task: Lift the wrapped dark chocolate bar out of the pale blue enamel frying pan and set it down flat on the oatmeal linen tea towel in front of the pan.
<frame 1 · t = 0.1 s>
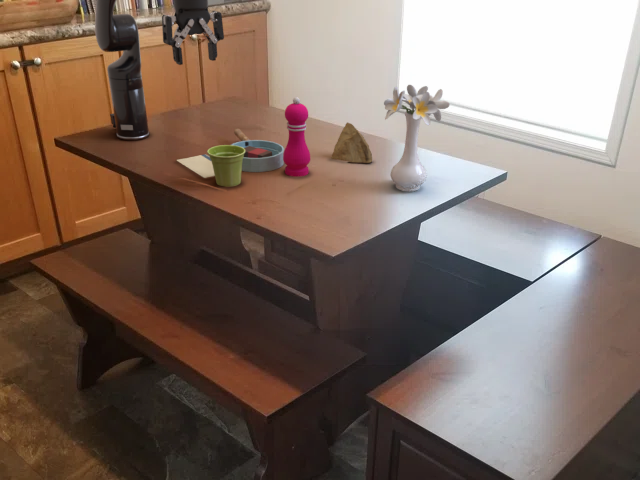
hand: (196, 62, 160), 29 cm above the table, tool pointing down, fingers open, 8 cm apart
rock: (352, 161, 193), on the table
flower vase: (407, 187, 178), on the table
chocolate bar: (256, 162, 189), point 1 cm above the table, touching pan
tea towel: (205, 167, 185), on the table
pepper mill: (296, 174, 183), on the table
plant pot: (228, 184, 176), on the table
pan handle: (242, 137, 197), point 3 cm above the table
pan: (256, 164, 189), on the table
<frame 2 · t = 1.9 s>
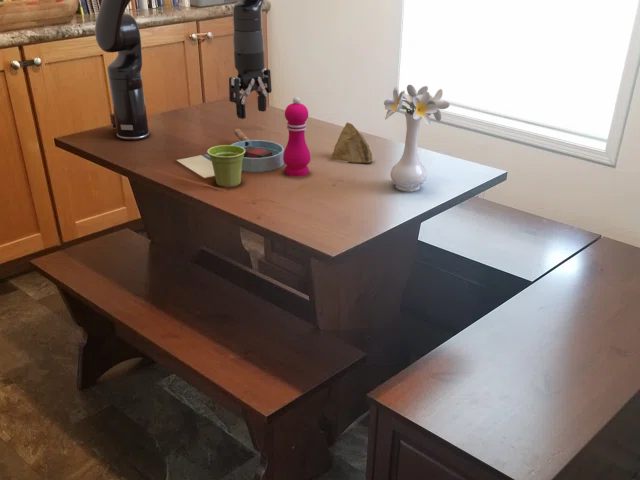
hand: (251, 114, 181), 14 cm above the table, tool pointing down, fingers open, 8 cm apart
nothing on the table moved.
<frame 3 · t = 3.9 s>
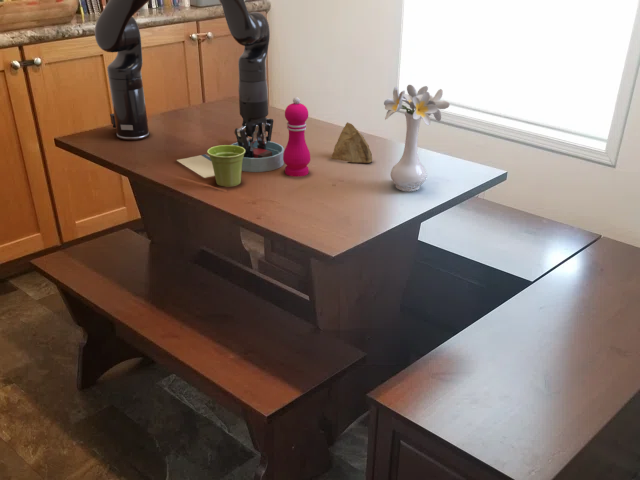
hand: (255, 160, 188), 1 cm above the table, tool pointing down, fingers closed on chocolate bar, 4 cm apart
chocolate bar: (256, 162, 189), point 1 cm above the table, touching gripper, pan
everything else where it was.
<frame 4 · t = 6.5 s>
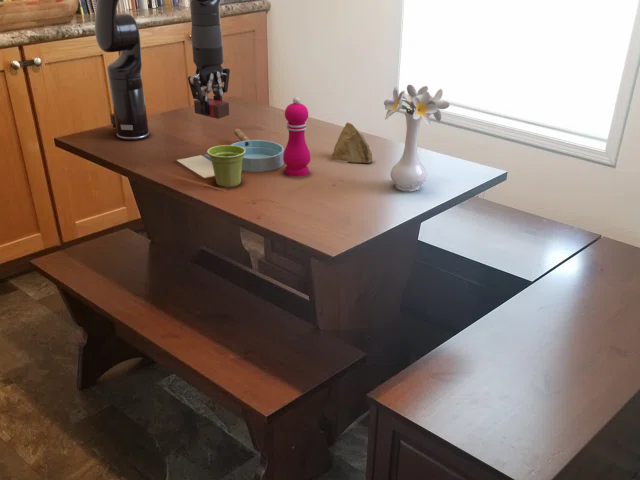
hand: (211, 112, 180), 14 cm above the table, tool pointing down, fingers closed on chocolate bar, 4 cm apart
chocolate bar: (212, 114, 181), point 13 cm above the table, touching gripper
everything else where it was.
when the fingers open (1 cm above the table, at t = 9.4 s): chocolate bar stays where it is, resting on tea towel.
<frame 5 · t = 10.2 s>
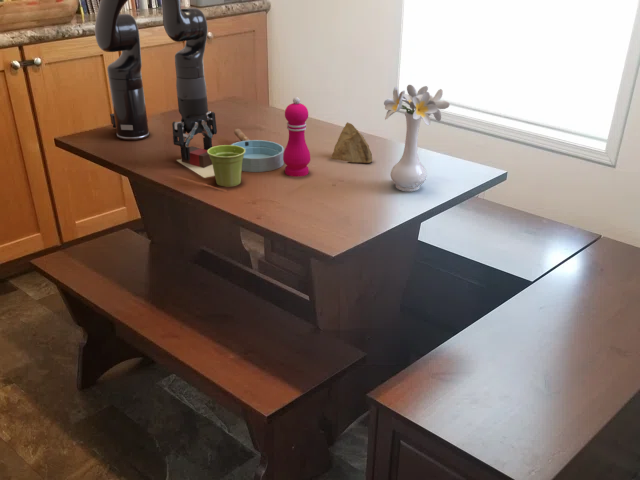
hand: (197, 155, 186), 2 cm above the table, tool pointing down, fingers open, 8 cm apart
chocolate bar: (198, 162, 187), point 1 cm above the table, touching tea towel
everything else where it was.
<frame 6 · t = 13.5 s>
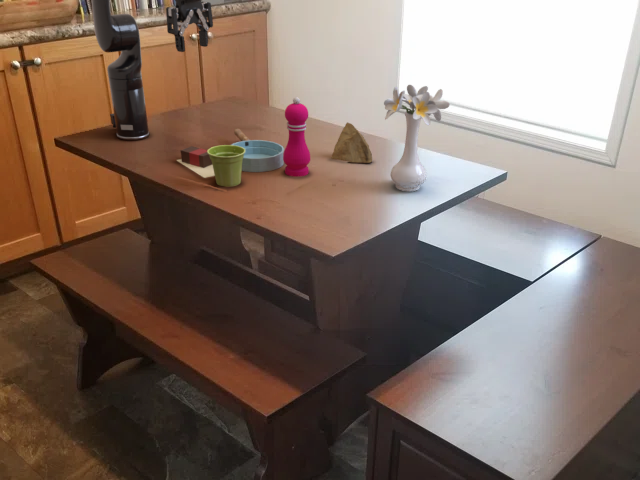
hand: (192, 48, 178), 28 cm above the table, tool pointing down, fingers open, 8 cm apart
nothing on the table moved.
at the end: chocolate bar inside the target area on the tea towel (2.9 cm from its centre), point 0.6 cm above the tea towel's base; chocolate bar tilted 0°; the gripper is holding nothing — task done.
